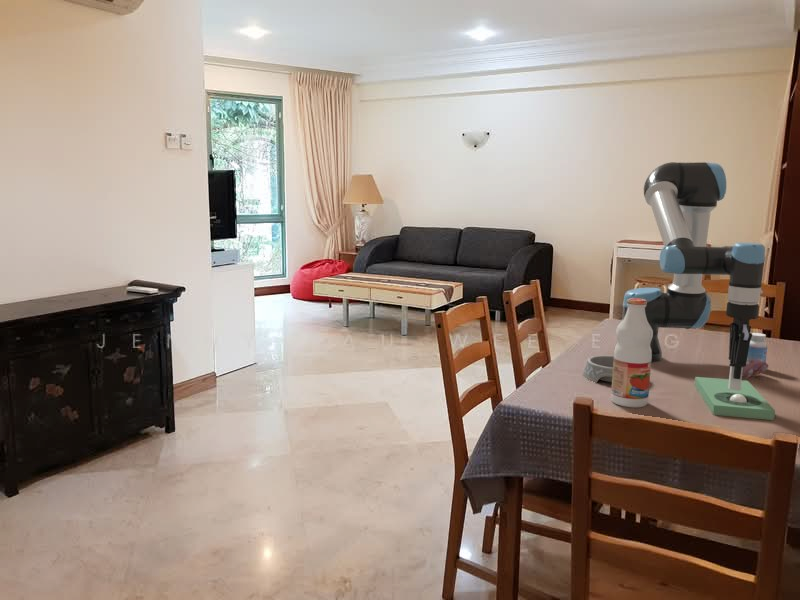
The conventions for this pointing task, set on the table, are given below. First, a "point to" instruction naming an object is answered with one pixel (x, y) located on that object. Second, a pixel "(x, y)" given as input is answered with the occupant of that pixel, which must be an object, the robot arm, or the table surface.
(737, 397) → the ball
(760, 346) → the pill bottle
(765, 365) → the video game controller
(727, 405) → the mat
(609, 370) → the dog bowl
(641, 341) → the fruit juice
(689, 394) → the table surface
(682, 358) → the table surface
